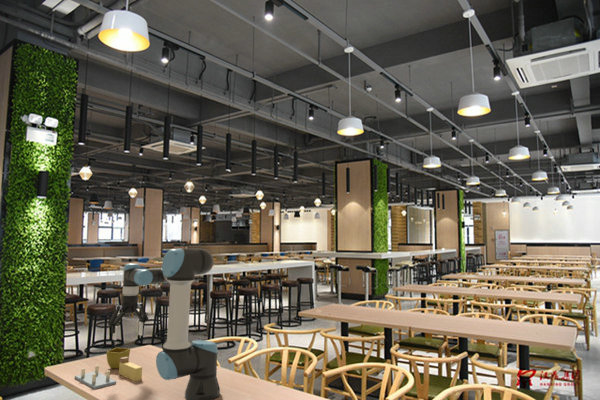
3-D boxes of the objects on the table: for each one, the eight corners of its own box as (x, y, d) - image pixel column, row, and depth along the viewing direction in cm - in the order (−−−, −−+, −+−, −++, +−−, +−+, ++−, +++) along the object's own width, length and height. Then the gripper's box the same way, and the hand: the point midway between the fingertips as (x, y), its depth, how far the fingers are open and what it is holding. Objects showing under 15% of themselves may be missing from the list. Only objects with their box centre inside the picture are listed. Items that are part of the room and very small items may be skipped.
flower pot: (119, 370, 215) (120, 352, 216) (104, 369, 217) (106, 351, 218) (129, 365, 224) (130, 348, 225) (115, 364, 225) (116, 347, 226)
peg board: (116, 383, 195) (116, 372, 196) (94, 389, 188) (95, 377, 188) (95, 373, 209) (96, 363, 210) (74, 378, 202) (75, 367, 202)
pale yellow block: (141, 379, 202) (142, 362, 203) (134, 381, 199) (135, 364, 200) (125, 372, 212) (126, 356, 213) (118, 374, 210) (119, 358, 210)
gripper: (148, 291, 221) (146, 332, 219) (102, 296, 202) (99, 340, 200) (156, 293, 216) (154, 334, 214) (109, 297, 197) (106, 343, 195)
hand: (127, 337), depth 207 cm, fingers open, 13 cm apart
